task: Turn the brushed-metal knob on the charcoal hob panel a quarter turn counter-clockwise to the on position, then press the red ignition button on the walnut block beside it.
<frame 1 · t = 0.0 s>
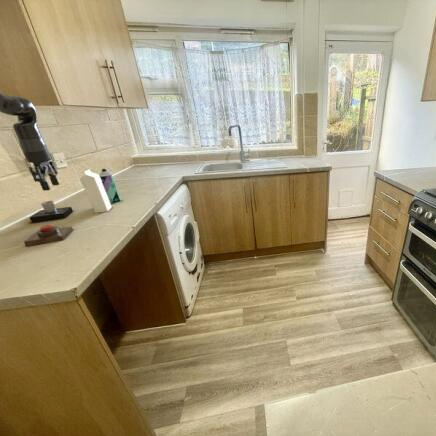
hand: (51, 187, 107), 18 cm above the countertop, tool pointing down, fingers open, 8 cm apart
hob knob: (49, 206, 122), point 6 cm above the countertop, hinge at 0.0°
igniter: (51, 238, 103), on the countertop
ignite button: (46, 228, 101), point 4 cm above the countertop, slide at 0.1 cm
milk: (104, 211, 131), on the countertop
hob panel: (53, 217, 124), on the countertop
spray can: (116, 202, 143), on the countertop
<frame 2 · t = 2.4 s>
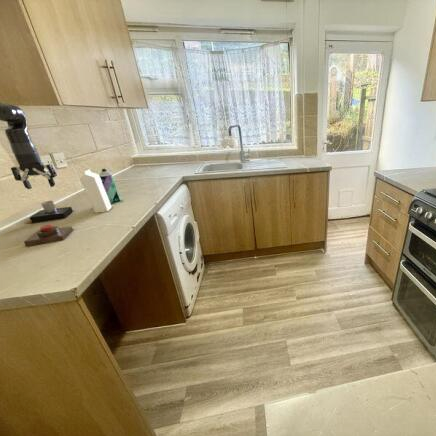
hand: (41, 187, 115), 16 cm above the countertop, tool pointing down, fingers open, 8 cm apart
nothing on the countertop moved.
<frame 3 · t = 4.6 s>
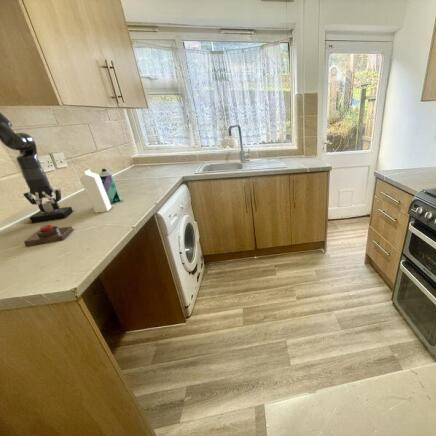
hand: (50, 210, 123), 4 cm above the countertop, tool pointing down, fingers closed on hob knob, 4 cm apart
hob knob: (49, 206, 122), point 6 cm above the countertop, hinge at 0.0°, touching gripper
everything else where it was.
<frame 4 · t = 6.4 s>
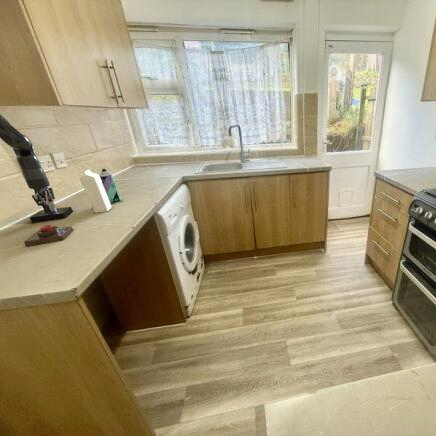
hand: (50, 210, 123), 4 cm above the countertop, tool pointing down, fingers closed on hob knob, 4 cm apart
hob knob: (49, 206, 122), point 6 cm above the countertop, hinge at 91.9°, touching gripper
everything else where it was.
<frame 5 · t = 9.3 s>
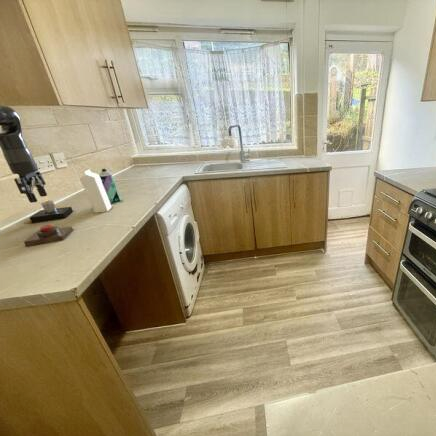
hand: (39, 199, 103), 15 cm above the countertop, tool pointing down, fingers open, 8 cm apart
hob knob: (49, 206, 122), point 6 cm above the countertop, hinge at 91.5°
everything else where it was.
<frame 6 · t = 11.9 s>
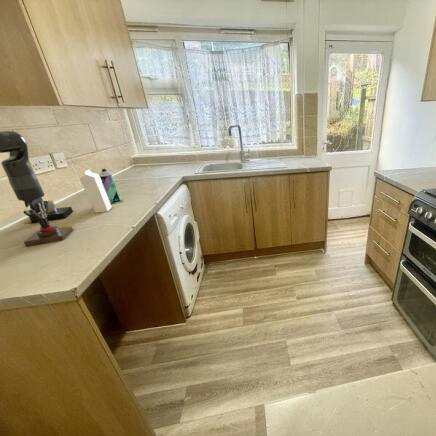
hand: (45, 226, 101), 5 cm above the countertop, tool pointing down, fingers closed
ignite button: (46, 228, 101), point 4 cm above the countertop, slide at 0.1 cm, touching gripper
everything else where it was.
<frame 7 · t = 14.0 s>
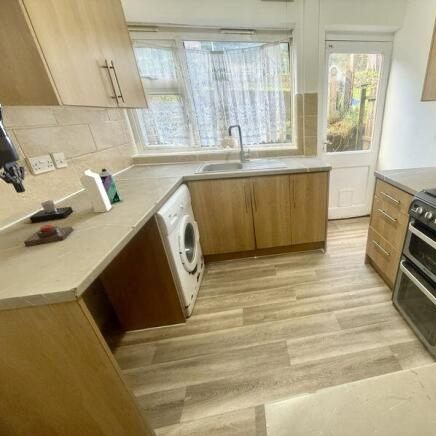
hand: (21, 192, 100), 19 cm above the countertop, tool pointing down, fingers closed
ignite button: (46, 228, 101), point 4 cm above the countertop, slide at 0.1 cm
everything else where it was.
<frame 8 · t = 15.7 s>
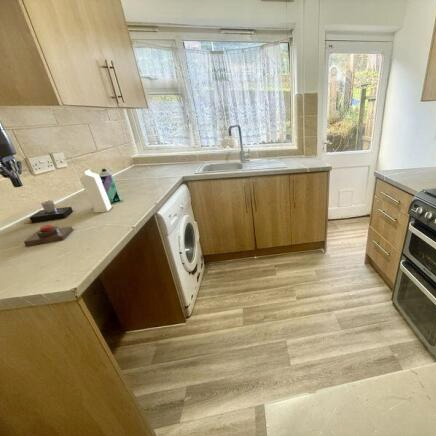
hand: (18, 186, 100), 21 cm above the countertop, tool pointing down, fingers closed
nothing on the countertop moved.
at the end: hob knob at +92° (first picture: +0°); ignite button pushed in 1.1 cm at the most during the clip, back to where it started at the end; ignite button slide at 0.1 cm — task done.
